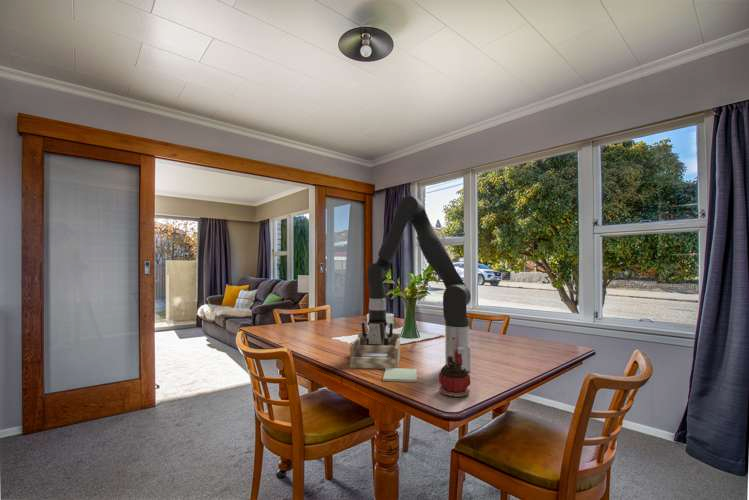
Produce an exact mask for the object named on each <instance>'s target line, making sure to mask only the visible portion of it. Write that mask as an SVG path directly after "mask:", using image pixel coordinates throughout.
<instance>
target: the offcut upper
mask: <svg viewBox="0 0 749 500" xmlns="http://www.w3.org/2000/svg"><path fill="white" fill-rule="evenodd" d="M362 357H371V358H388V354H380V353H363V354H362Z"/></svg>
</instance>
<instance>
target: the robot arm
mask: <svg viewBox="0 0 749 500" xmlns="http://www.w3.org/2000/svg"><path fill="white" fill-rule="evenodd" d="M409 221H410V223H411V225H412V227H413V228H414V230H415V232H416V235H417V236H416V237H417V240H418V246H419V248H420V250H421V253H422V254H423V256H424V258H425V261H426V262H427V263H428V264H429V266H430V267H431V269H433V270H434V272H435V273H436V274H437V275H438V277H440V279H441V281H442V282H443V284H444V286H445V289H444V292H443V295H442V307H443V308H442V309H443V310H442V311H443V312H442V313H443V319H444V321H445V322H444V325H445V329H444V330H445V331H444V332H445V333H444V335H445V340H444V344H445V353H444V355H445V362H444V363H445V364H444V365H448V362H447V357H448V356H452V357H453V346H452V337H455V351H456V348H464V354H462V363H463V365H464V368H465V369H466V370H467V373H468V372H471V346H470V319H469V318H468V315H467V305H468V304H469V303H470V301H471V291H470V290H469V288H468V286H467V285H466V283H465V282H464V280H463V278H462V277H461V276H460V275H459V272H458V271H457V269H456V267H455V265H454V263H453V260H452V258H451V256H450V255H449V252H448V251H447V249H446V247H445V245H444V243H443V241H442V239H441V238H440V236H439V234H438V232H437V231H436V230H435V228H434V226H433V225H432V223H431V221H430V219H429V216H428V214H427V211H426V208H425V206H424V204H423V202H422V200H420V199H418V198H417V197H416V196H413V195H405V196H403V197H402V198H401V199H400V201H399V202H398V206H397V208H396V211H395V213H394V216H393V219H392V222H391V226H390V228H389V230H388V232H387V235H386V237H385V239H384V240H383V242H382V244H381V246H380V248H379V250H378V253H377V255H378V258H377V260H376V262H375V263H371V264H370V265H369V266H368V267H367V272H366V277H367V282H368V287H369V300H368V301H369V302H368V303H369V304H368V321H367V322H365V321H363V322H362V323H361V332H362V335H363V337H366V338H367V345H369V332H367V330H366V328H367V327H369V323H370V322H384V328H385V327H386V328H387V327H388V329H389V331H388V332H387V329H386V330H385V331H384V336H385V346H388V338H389V337H392V333H394V331H393V330H394V322H387V302H386V287H385V285H384V283H383V279H384V278H385V277H386V276H387V275H388V273H389V272H390V271H389V270H390V269H391V265H392V261H393V259H394V257H395V256H396V254H397V252H398V250H399V248H400V245H401V242H402V238H403V234H404V231H405V228H406V226H407V225H408V223H409ZM366 332H367V333H368V334H366ZM387 333H389V334H387Z"/></svg>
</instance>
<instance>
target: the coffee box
mask: <svg viewBox="0 0 749 500" xmlns="http://www.w3.org/2000/svg"><path fill="white" fill-rule="evenodd" d="M385 330H386V331H387V326H386V327H385V328H384V322H370V323H369V326H368V333H369V345H379V346H385V336H384V331H385Z"/></svg>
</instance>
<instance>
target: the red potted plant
mask: <svg viewBox="0 0 749 500" xmlns="http://www.w3.org/2000/svg"><path fill="white" fill-rule="evenodd" d="M452 346H453V357H452V356H448V357H447V362H448V365H446V364H444V365H443V366H442V367H441V369H440V371H439V373H438V383H440V386H439V388H438V391H439V392H440V393H441V394H443V395H447V396H452V397H463V396H467V395H468V394H470V391H471V389H470V388H469V386H470V385H471V376H470V374H469V373H468V372H467V370H466V369H465V368H464V365H463V363H462V354H464V348H456V351H455V337H452Z"/></svg>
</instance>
